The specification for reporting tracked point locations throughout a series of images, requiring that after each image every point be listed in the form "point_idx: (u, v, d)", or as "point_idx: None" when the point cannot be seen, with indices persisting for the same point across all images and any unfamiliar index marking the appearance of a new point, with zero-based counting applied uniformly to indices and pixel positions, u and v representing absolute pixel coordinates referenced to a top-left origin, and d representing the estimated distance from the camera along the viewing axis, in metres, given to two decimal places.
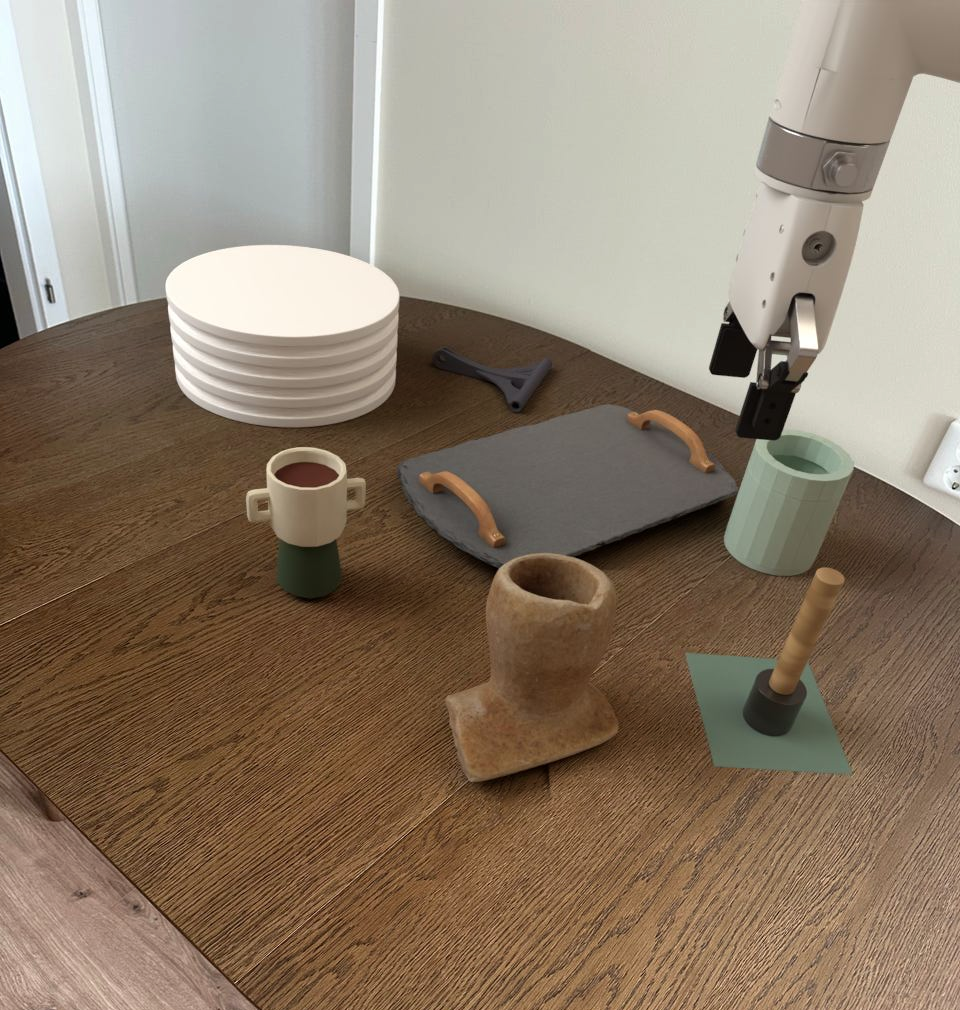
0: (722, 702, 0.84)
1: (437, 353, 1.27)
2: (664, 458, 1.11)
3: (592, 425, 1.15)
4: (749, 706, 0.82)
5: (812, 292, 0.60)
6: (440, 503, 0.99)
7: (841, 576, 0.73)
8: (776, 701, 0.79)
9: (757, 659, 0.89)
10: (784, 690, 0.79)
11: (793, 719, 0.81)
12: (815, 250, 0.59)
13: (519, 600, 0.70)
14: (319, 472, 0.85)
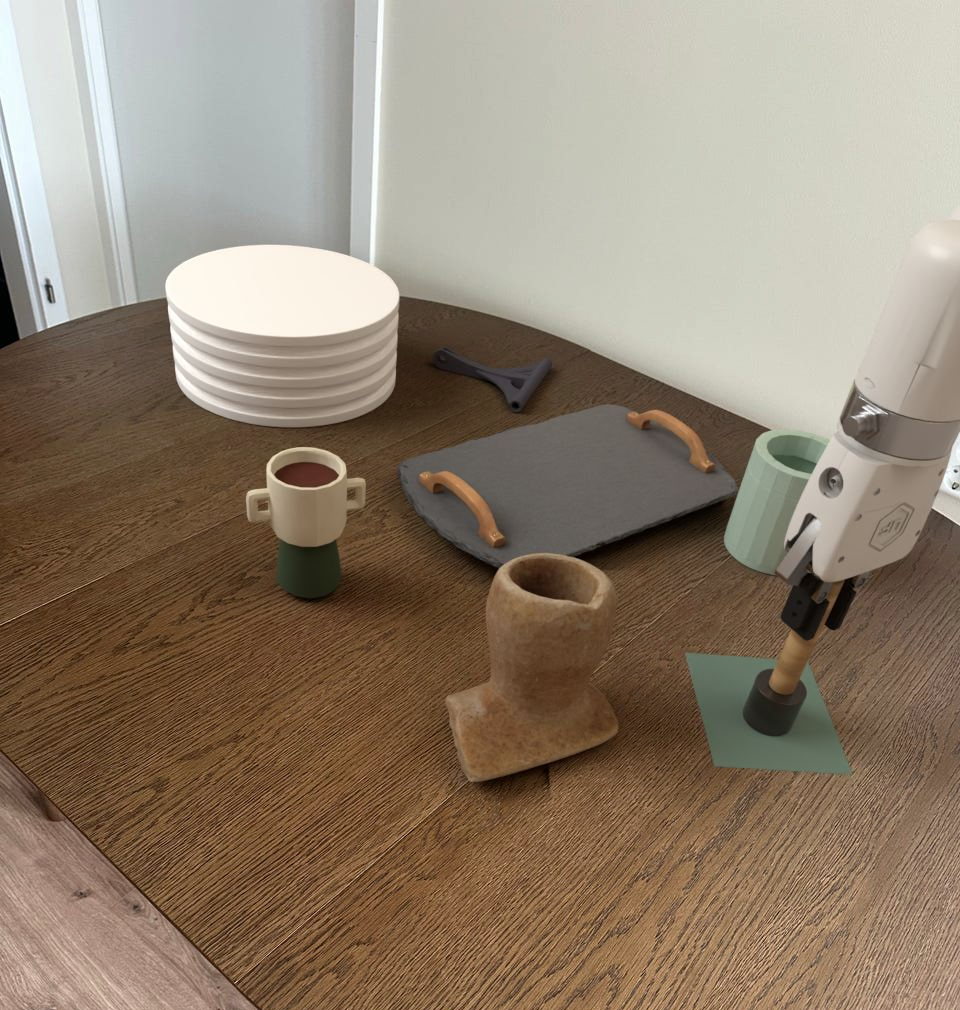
0: (722, 702, 0.84)
1: (437, 353, 1.27)
2: (664, 458, 1.11)
3: (592, 425, 1.15)
4: (749, 706, 0.82)
5: (819, 518, 0.66)
6: (441, 503, 0.99)
7: None
8: (776, 701, 0.79)
9: (757, 659, 0.89)
10: (784, 690, 0.79)
11: (793, 719, 0.81)
12: (831, 484, 0.65)
13: (519, 600, 0.70)
14: (319, 472, 0.85)
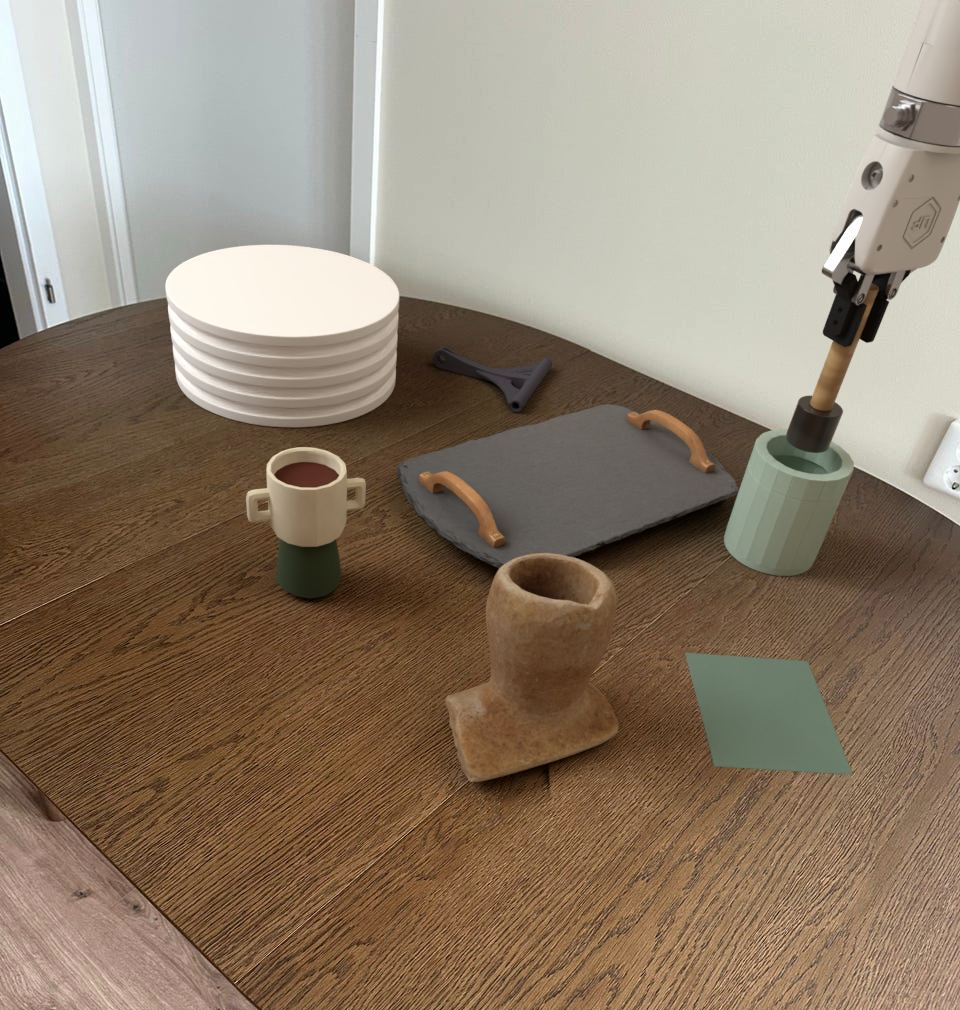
0: (722, 702, 0.84)
1: (437, 353, 1.27)
2: (664, 458, 1.11)
3: (592, 425, 1.15)
4: (791, 427, 0.94)
5: (861, 211, 0.78)
6: (441, 503, 0.99)
7: (876, 286, 0.85)
8: (817, 414, 0.91)
9: (757, 659, 0.89)
10: (823, 406, 0.92)
11: (831, 435, 0.93)
12: (872, 178, 0.77)
13: (519, 600, 0.70)
14: (319, 472, 0.85)
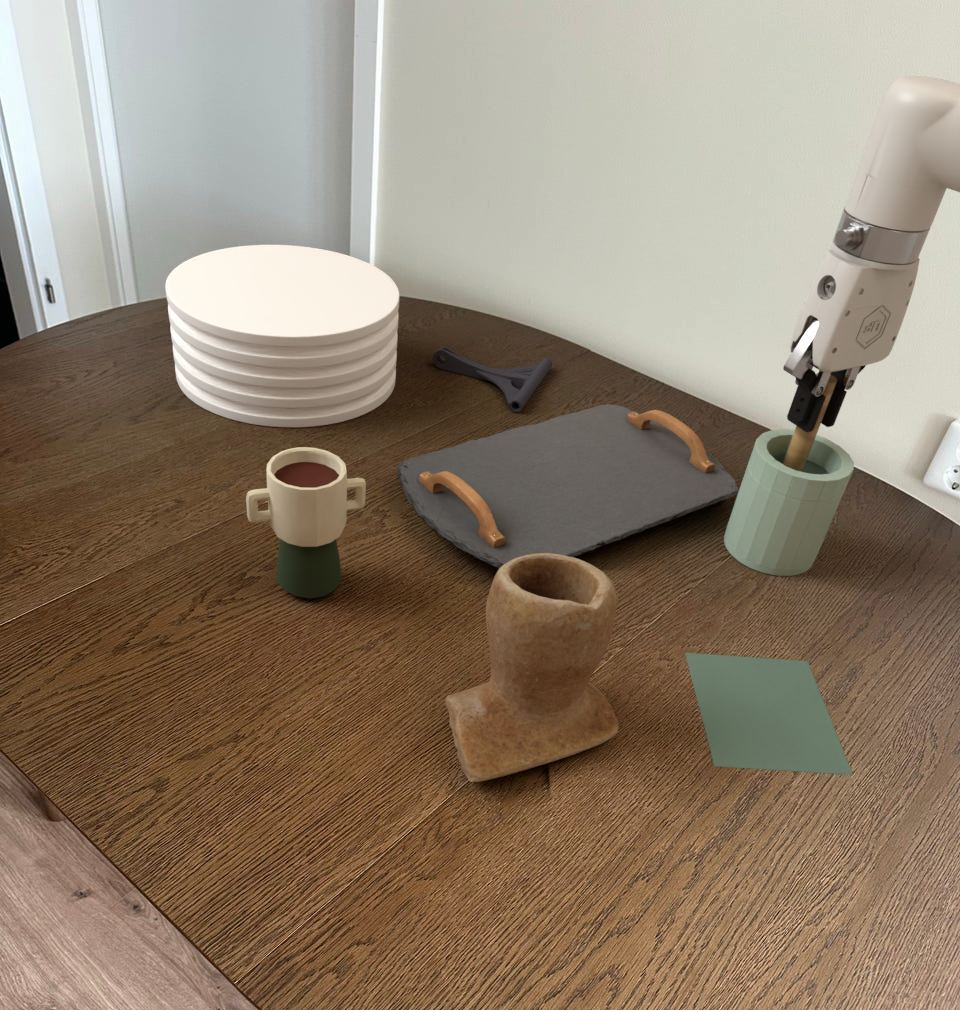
0: (722, 702, 0.84)
1: (437, 353, 1.27)
2: (664, 458, 1.11)
3: (592, 425, 1.15)
4: None
5: (818, 318, 0.86)
6: (441, 503, 0.99)
7: (834, 378, 0.93)
8: None
9: (757, 659, 0.89)
10: None
11: None
12: (827, 289, 0.85)
13: (519, 600, 0.70)
14: (319, 472, 0.85)
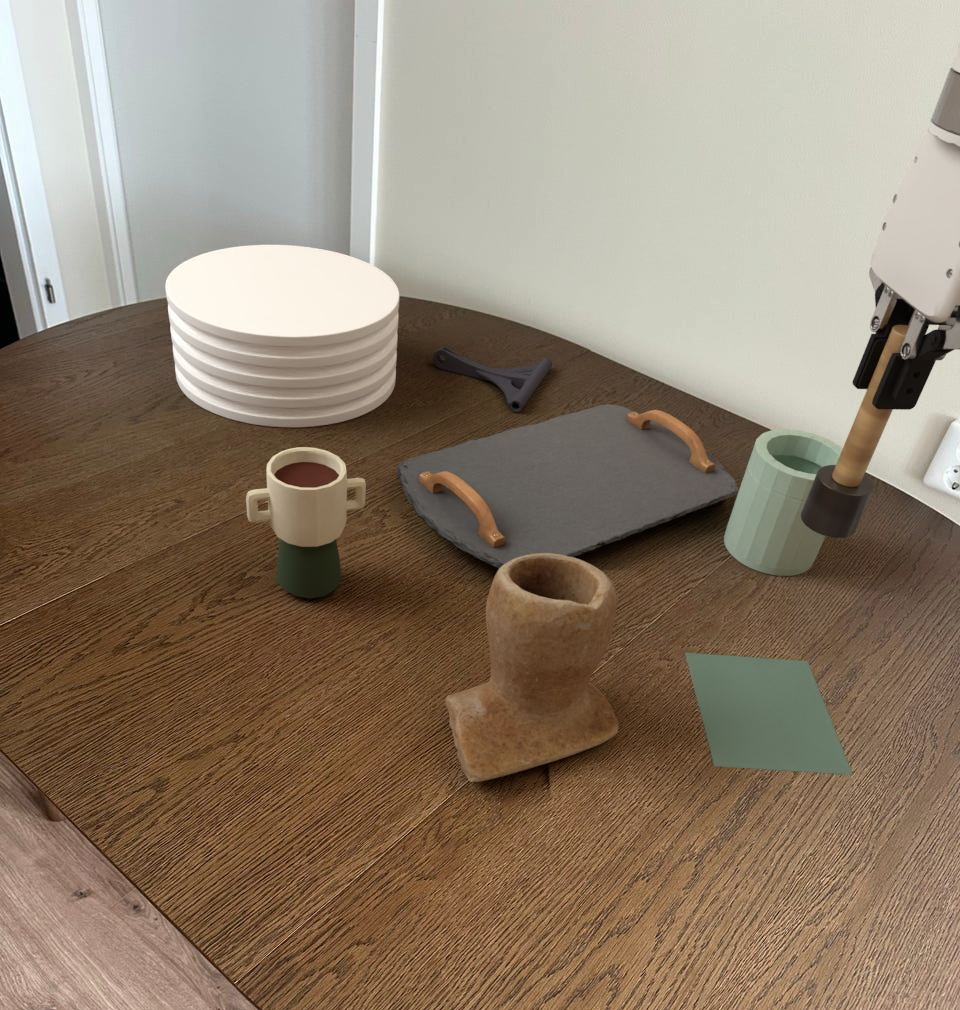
0: (722, 702, 0.84)
1: (437, 353, 1.27)
2: (664, 458, 1.11)
3: (592, 425, 1.15)
4: (836, 520, 0.73)
5: None
6: (441, 503, 0.99)
7: (908, 326, 0.66)
8: (869, 491, 0.72)
9: (757, 659, 0.89)
10: (862, 478, 0.72)
11: None
12: None
13: (519, 600, 0.70)
14: (319, 472, 0.85)
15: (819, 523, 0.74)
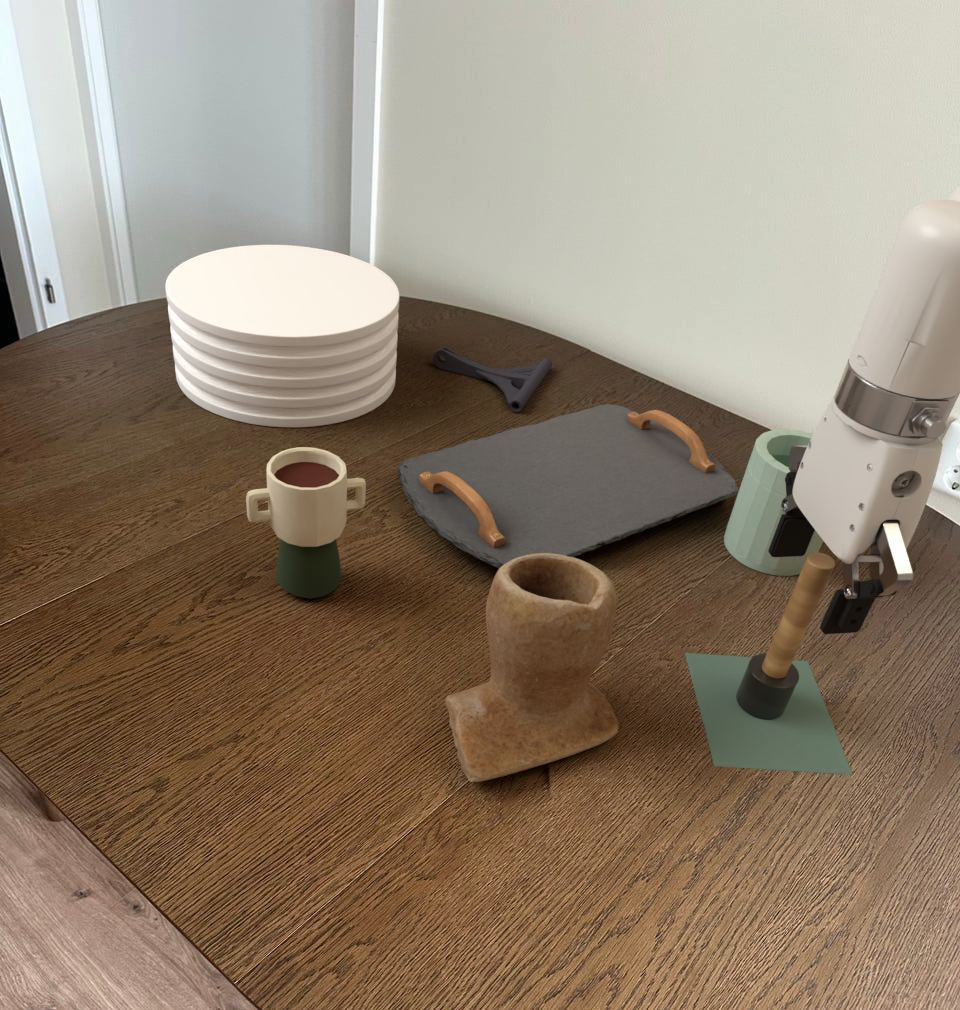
0: (722, 702, 0.84)
1: (437, 353, 1.27)
2: (664, 458, 1.11)
3: (592, 425, 1.15)
4: (765, 706, 0.82)
5: (898, 518, 0.66)
6: (441, 503, 0.99)
7: (821, 554, 0.75)
8: (794, 683, 0.81)
9: None
10: (788, 670, 0.81)
11: None
12: (901, 485, 0.64)
13: (519, 600, 0.70)
14: (319, 472, 0.85)
15: (751, 707, 0.83)
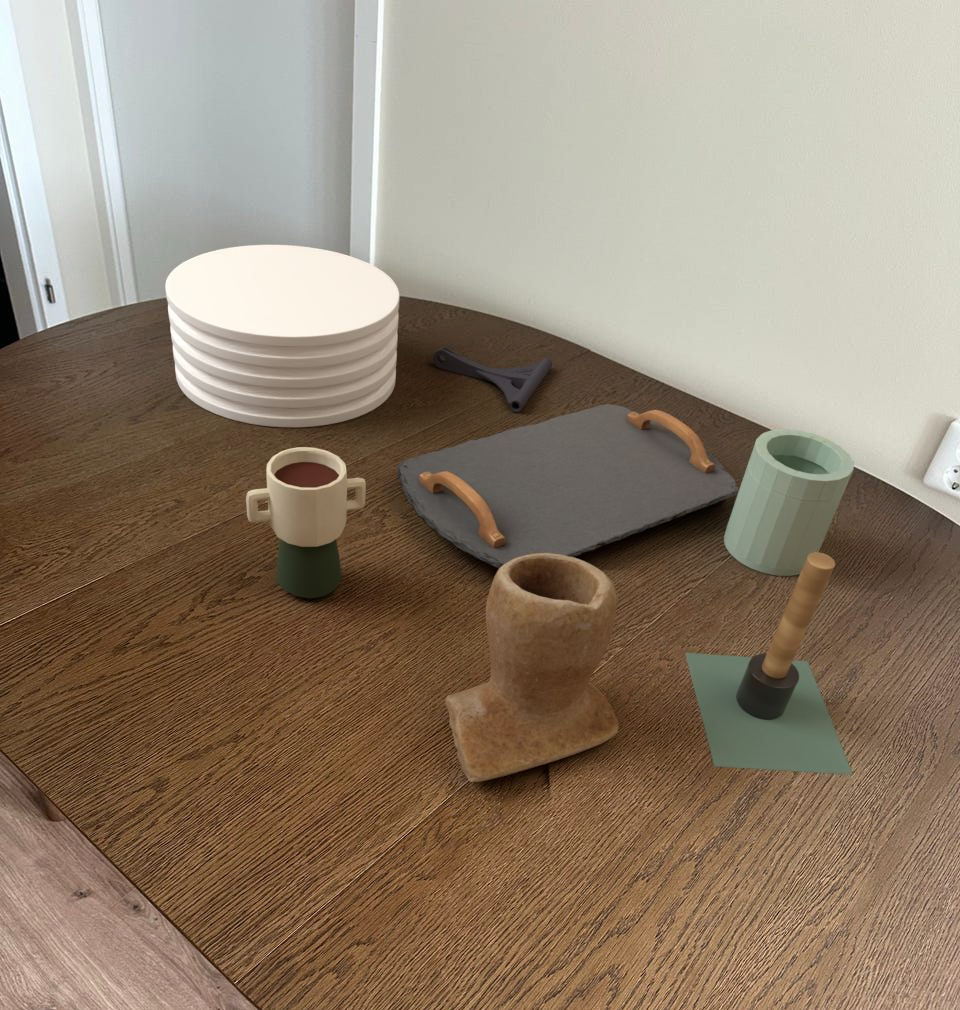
0: (722, 702, 0.84)
1: (437, 353, 1.27)
2: (664, 458, 1.11)
3: (592, 425, 1.15)
4: (765, 706, 0.82)
5: None
6: (441, 503, 0.99)
7: (821, 554, 0.75)
8: (794, 683, 0.81)
9: None
10: (788, 670, 0.81)
11: None
12: None
13: (519, 600, 0.70)
14: (319, 472, 0.85)
15: (751, 707, 0.83)
